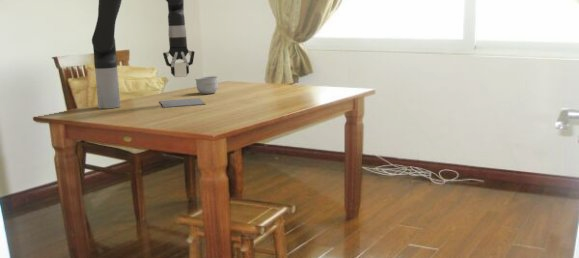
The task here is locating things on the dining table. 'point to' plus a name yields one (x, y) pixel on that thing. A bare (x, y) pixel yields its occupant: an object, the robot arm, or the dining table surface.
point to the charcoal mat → (182, 102)
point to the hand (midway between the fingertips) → (180, 75)
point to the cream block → (180, 69)
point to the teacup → (207, 84)
